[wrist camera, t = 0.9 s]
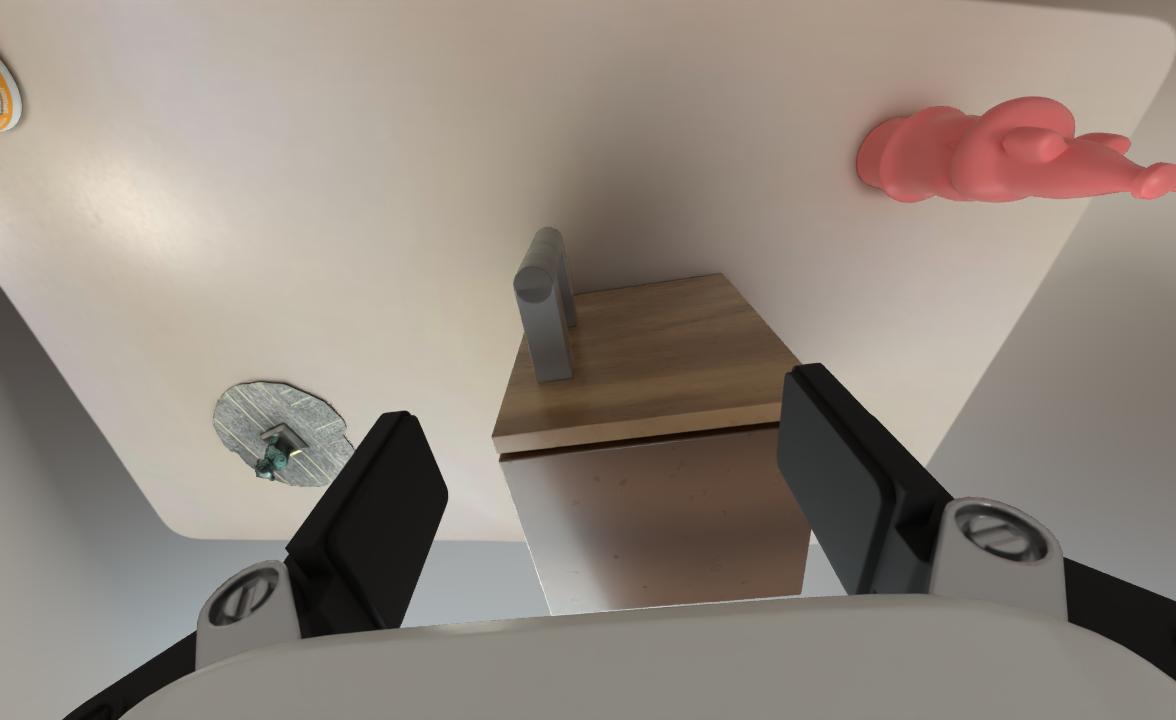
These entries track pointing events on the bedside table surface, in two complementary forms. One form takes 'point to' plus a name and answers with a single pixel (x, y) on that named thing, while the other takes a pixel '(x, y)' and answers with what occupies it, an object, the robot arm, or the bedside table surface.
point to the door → (633, 358)
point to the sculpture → (283, 433)
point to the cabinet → (660, 520)
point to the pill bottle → (8, 100)
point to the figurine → (1003, 157)
